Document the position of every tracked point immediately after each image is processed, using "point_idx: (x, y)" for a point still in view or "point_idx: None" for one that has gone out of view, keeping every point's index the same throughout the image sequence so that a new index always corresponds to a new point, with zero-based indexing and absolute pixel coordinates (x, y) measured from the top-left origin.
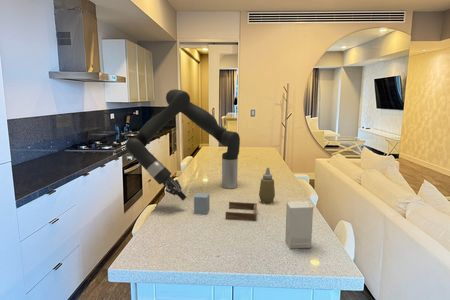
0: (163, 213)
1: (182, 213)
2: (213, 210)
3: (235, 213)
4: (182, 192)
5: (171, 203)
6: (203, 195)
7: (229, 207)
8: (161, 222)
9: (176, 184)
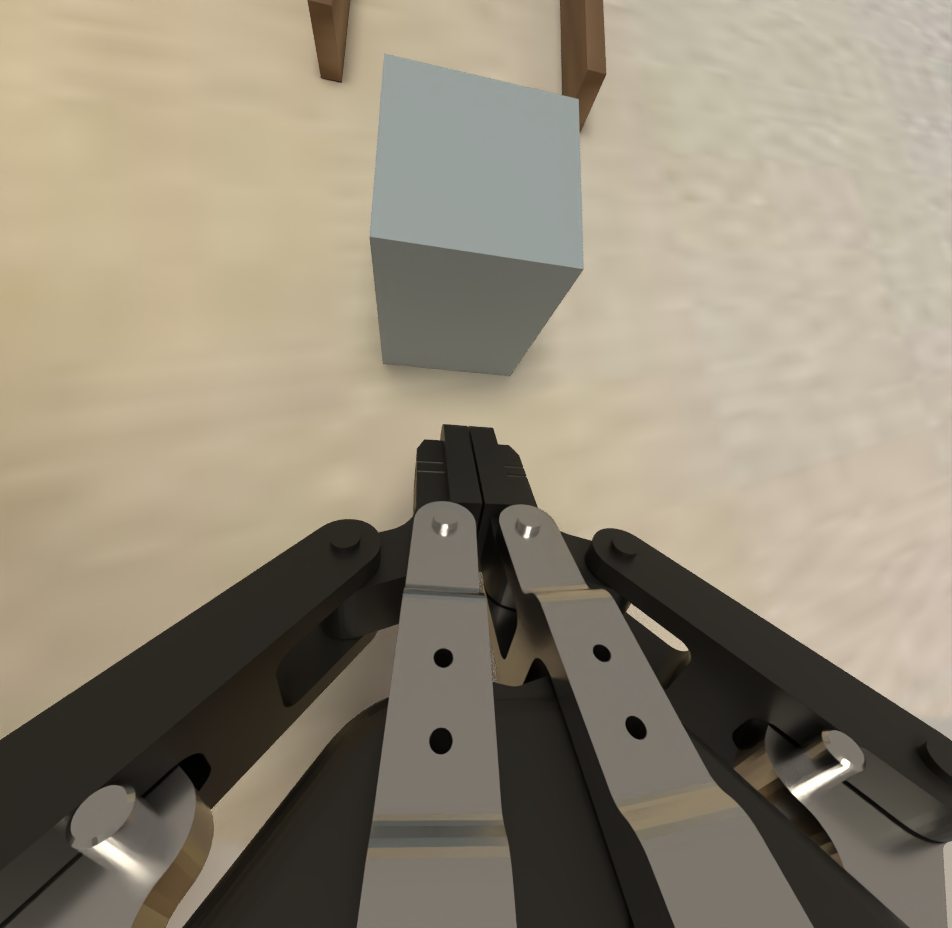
0: None
1: None
2: None
3: (602, 9)
4: (455, 477)
5: None
6: (491, 139)
7: (339, 67)
8: None
9: (475, 666)
